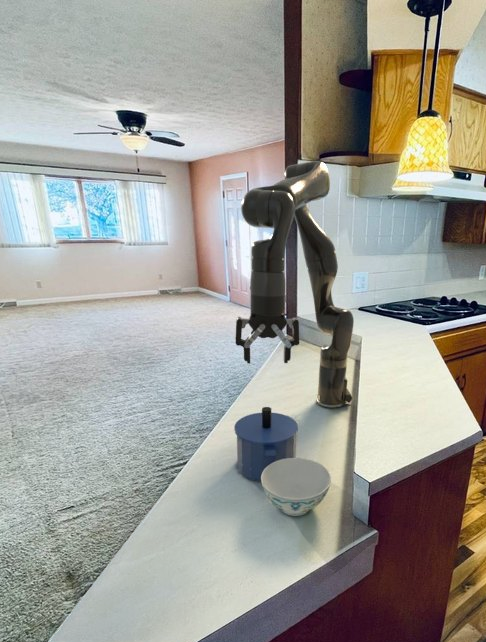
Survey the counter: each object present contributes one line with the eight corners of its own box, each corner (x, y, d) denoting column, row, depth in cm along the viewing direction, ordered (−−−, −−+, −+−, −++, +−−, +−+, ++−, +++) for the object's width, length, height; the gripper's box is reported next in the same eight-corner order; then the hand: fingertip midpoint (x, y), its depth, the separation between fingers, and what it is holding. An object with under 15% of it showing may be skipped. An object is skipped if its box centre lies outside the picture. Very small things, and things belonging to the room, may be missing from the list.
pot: (289, 443, 116) (290, 409, 112) (300, 486, 98) (302, 448, 94) (237, 446, 113) (236, 411, 109) (238, 490, 95) (237, 451, 91)
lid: (293, 415, 110) (294, 394, 108) (302, 444, 96) (303, 422, 94) (234, 417, 107) (233, 396, 105) (234, 448, 93) (233, 425, 91)
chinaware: (254, 491, 95) (254, 463, 92) (315, 480, 100) (316, 453, 97) (270, 536, 82) (270, 504, 79) (339, 521, 87) (342, 491, 84)
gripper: (234, 294, 84) (236, 368, 90) (303, 295, 87) (300, 367, 93) (234, 288, 91) (235, 357, 97) (297, 289, 94) (295, 356, 100)
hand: (267, 362), depth 95 cm, fingers open, 8 cm apart
